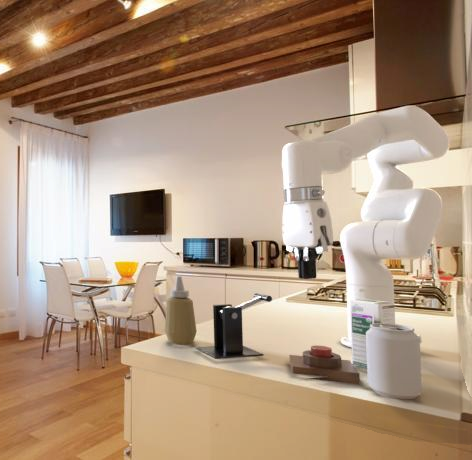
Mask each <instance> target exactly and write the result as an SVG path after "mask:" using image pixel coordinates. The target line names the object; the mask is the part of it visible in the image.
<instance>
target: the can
mask: <svg viewBox="0 0 472 460" xmlns="http://www.w3.org/2000/svg"><path fill="white" fill-rule="evenodd" d="M370 327H371V328H370V329H369V330H368V331H367V332H366V351H367V368H366V375H367V386H368V387H369V388H371V390H373V391H374V393H376V394H378V395H381V396H383V397H388V398H393V399H398V400H413V399H414V400H415V399H416V398H417V397H419V396H420V395H422V394H423V387H422V384H423V383H422V362H421V361H422V359H421V343H420V338H419V337H418V336H417V335H418V334H417V333H415V332H414V331H415V330H416V329H415V328H414V327H412V326H408V325H405V324H397V323H395V324H388V323H374V324H370Z"/></svg>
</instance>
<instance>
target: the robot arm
mask: <svg viewBox="0 0 472 460" xmlns="http://www.w3.org/2000/svg"><path fill="white" fill-rule="evenodd" d="M450 144H451V142H450V137H449V135H448V133H447V131H446V129H445V128H444V127H442V125H441V124H440V123H439V122H437V120H435V119H434V117H433V116H431V115H430V114H429V113H428V112H427V111H426V110H424V109H423V108H421V107H419V106H416V105H404V106H400V107H396V108H392V109H387V110H384V111H379V112H375V113H371V114H368V115H366V116H364V117H361V118H360V119H358V120H356V121H354V122H352V123H350V124H348V125H346V126H343V127H340V128H339V129H335V130H332V131H330V132H327V133H325V134H323V135H320V136H317V137H315V138H312V139H305V140H297V141H293V142H289V143H287V144H285V145H284V146H283V147H282V150H281V170H282V181H283V182H282V183H283V185H282V186H283V197H284V198H283V201H284V204H283V208H282V219H281V232H282V233H281V234H282V235H281V236H282V242H283V244H284V245H285V246H286V249H285V250H286V251H287V252H289V253H292V254H293V255H294V259H295V260H296V261H297V272H298V275H297V276H298V279H302V280H311V279H313V280H314V279H316V278H317V261H318V260H319V256H320V255H321V254H325V253H328V252H329V248H328V247H331V246H332V245H333V244H334V232H333V223H332V217H331V212H330V208H329V205H328V203H327V201H325V200H324V195H325V192H326V191H325V189H324V188H323V187H324V186H323V185H324V183H323V182H324V181H323V176H326V175H334V174H339V173H341V172H343V171H345V170H347V169H348V168H349V167H350V166H351V165H352V163H353V161H354V160H357V159H359V158H362V157H364V156H366V158H367V162H368V166H369V169H370V172H371V176H372V179H373V183H372V185H371V187H370V190H369V191H368V193H367V195H366V198H365V199H364V201H363V204H362V206H361V209H360V218H361V221H356V222H351V223H348V224H347V225H346V226H344V227H342V230H341V232H340V234H339V244H340V247H341V251H342V255H343V260H344V266H345V267H344V268H345V285H346V287H345V289H346V312H347V313H346V315H347V336H342V337H341V338H340V343H341V344H342V345H343V346H345V347H348V348H351V349H352V343H351V317H350V301H351V300H354V299H368V300H377V301H386V302H394V303H395V286H394V285H395V283H394V282H395V281H394V277H393V273H392V272H391V270H390V269H389V268H388V266H387V265H386V264H385V263H384V262H383V260H399V261H401V260H402V261H405V260H407V261H412V260H419V259H421V258H423V257H424V256H426V255H427V253H428V252H429V250H430V247H431V245H432V242H433V240H434V238H435V235H436V232H437V229H438V227H439V225H440V222H441V221H442V220H441V219H442V217H443V208H444V207H443V206H444V205H443V200H442V197H441V195H440V194H439V193H438V192H437V191H436V190H434V189H431V188H429V187H414V186H415V185H414V180H413V179H412V178H411V177H410V175H408V174H407V173H406V172H405V171H404V170H402V169H401V168H399V167H398V166H402V165H408V164H416V163H422V162H423V163H424V162H430V161H437V160H438V159H439V160H440V159H441V158H443V157H444V156H446V154H447V153H448V152H449V151H450ZM416 335H417V336H418V337H419V338H420V344H422V336H421V334H416Z"/></svg>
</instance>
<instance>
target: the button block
mask: <svg viewBox="0 0 472 460" xmlns="http://www.w3.org/2000/svg"><path fill="white" fill-rule="evenodd" d="M288 360H289V364H290V368H291V372H292V374H299V375H308V376H317V377H308V378H306V380H316V381H323V382H332V383H342V384H351V385H360V384H361V377H360V375H361V374H360V372H359V370H357V368H356V367H355V365H353V364H352V360H349V359H342V357H341V355H340V354H339V353H335V352H332V357H327V358H326V357H318V356H313V355H311V349H310V350H309V349H307V350H304V351H302V355H295V354H289V355H288Z"/></svg>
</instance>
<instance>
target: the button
mask: <svg viewBox="0 0 472 460" xmlns="http://www.w3.org/2000/svg"><path fill="white" fill-rule="evenodd" d="M310 350H311V355H313V356H318V357H326V358H327V357H332V353H333V349H332V347H329V346H325V345H311V346H310Z"/></svg>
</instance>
